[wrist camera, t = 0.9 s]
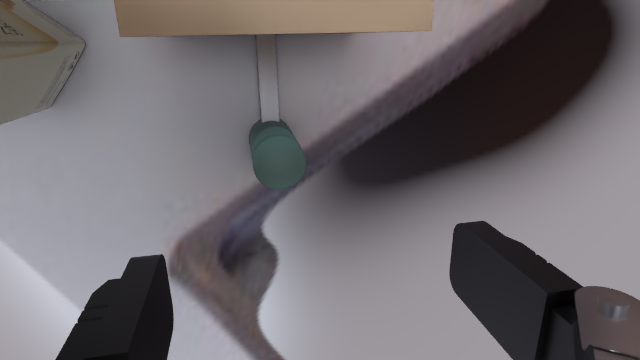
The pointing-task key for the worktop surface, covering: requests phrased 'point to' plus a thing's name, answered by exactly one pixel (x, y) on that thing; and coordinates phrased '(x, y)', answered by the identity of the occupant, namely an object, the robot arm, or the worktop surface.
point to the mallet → (273, 127)
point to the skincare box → (32, 59)
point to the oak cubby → (270, 16)
